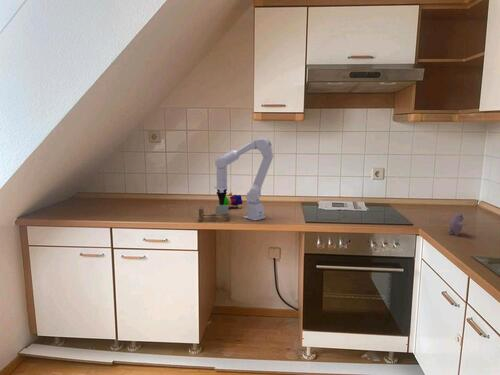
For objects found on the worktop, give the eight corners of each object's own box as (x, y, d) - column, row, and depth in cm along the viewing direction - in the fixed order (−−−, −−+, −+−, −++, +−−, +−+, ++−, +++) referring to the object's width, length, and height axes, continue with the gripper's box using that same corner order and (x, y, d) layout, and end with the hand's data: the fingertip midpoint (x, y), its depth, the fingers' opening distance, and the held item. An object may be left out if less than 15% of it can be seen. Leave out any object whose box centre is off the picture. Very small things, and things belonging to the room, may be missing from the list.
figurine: (466, 238, 168) (469, 216, 166) (452, 238, 169) (454, 215, 167) (456, 231, 179) (458, 210, 178) (443, 230, 180) (445, 209, 179)
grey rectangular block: (228, 215, 210) (228, 205, 209) (228, 216, 208) (228, 205, 207) (216, 215, 209) (215, 205, 208) (215, 216, 207) (215, 206, 206)
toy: (234, 194, 237) (213, 196, 229) (240, 188, 230) (219, 190, 222) (240, 211, 232) (219, 214, 224) (246, 205, 226) (224, 207, 218)
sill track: (229, 218, 204) (229, 205, 203) (229, 221, 197) (229, 208, 196) (200, 218, 203) (199, 206, 202) (199, 221, 196) (198, 209, 195)
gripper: (214, 177, 212) (215, 200, 214) (214, 181, 198) (214, 206, 200) (227, 177, 212) (227, 200, 215) (227, 181, 198) (227, 205, 200)
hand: (221, 203), depth 207 cm, fingers open, 7 cm apart
